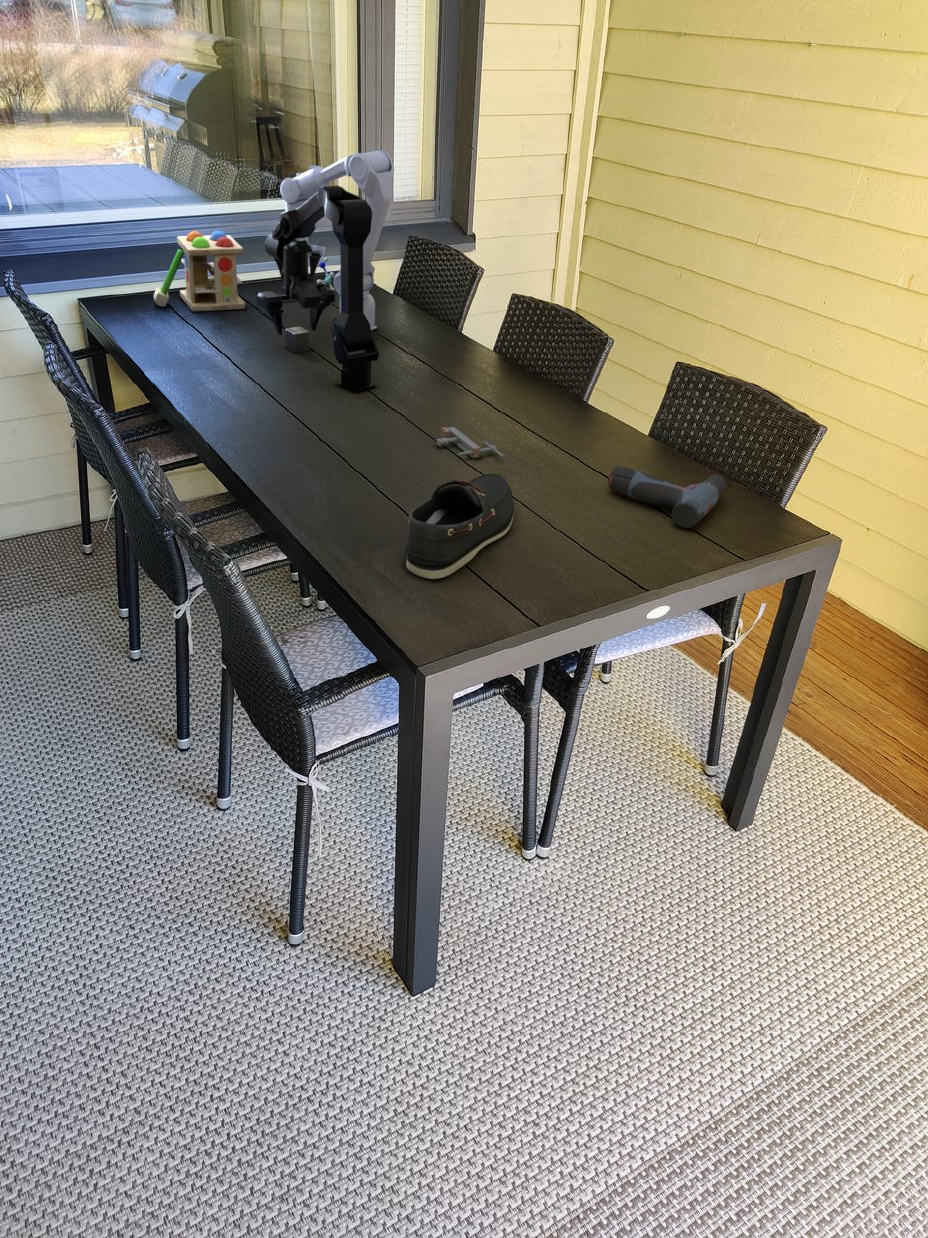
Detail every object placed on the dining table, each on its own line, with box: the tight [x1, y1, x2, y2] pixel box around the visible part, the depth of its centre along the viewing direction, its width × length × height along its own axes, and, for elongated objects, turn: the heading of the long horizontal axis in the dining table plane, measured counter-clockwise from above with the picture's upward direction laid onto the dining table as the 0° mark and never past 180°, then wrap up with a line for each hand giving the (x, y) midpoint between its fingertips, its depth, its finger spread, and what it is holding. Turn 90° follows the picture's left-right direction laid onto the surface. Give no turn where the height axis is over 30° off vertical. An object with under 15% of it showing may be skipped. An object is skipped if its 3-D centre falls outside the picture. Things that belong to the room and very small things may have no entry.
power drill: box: [607, 465, 727, 529], centre depth 189 cm, size 5×19×20 cm
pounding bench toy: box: [153, 230, 246, 312], centre depth 261 cm, size 23×14×18 cm, turn 116°
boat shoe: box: [403, 472, 515, 580], centre depth 170 cm, size 13×33×10 cm, turn 147°
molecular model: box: [316, 256, 336, 292], centre depth 286 cm, size 12×10×10 cm
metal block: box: [284, 326, 310, 354], centre depth 242 cm, size 4×4×5 cm
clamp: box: [436, 426, 507, 460], centre depth 201 cm, size 15×2×10 cm
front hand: (296, 332), depth 241 cm, fingers open, 9 cm apart
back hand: (297, 280), depth 262 cm, fingers open, 7 cm apart
